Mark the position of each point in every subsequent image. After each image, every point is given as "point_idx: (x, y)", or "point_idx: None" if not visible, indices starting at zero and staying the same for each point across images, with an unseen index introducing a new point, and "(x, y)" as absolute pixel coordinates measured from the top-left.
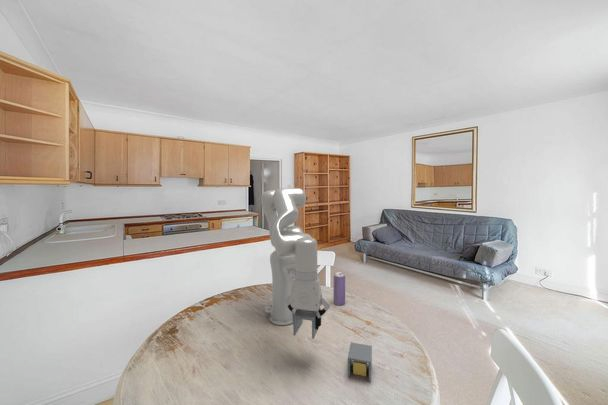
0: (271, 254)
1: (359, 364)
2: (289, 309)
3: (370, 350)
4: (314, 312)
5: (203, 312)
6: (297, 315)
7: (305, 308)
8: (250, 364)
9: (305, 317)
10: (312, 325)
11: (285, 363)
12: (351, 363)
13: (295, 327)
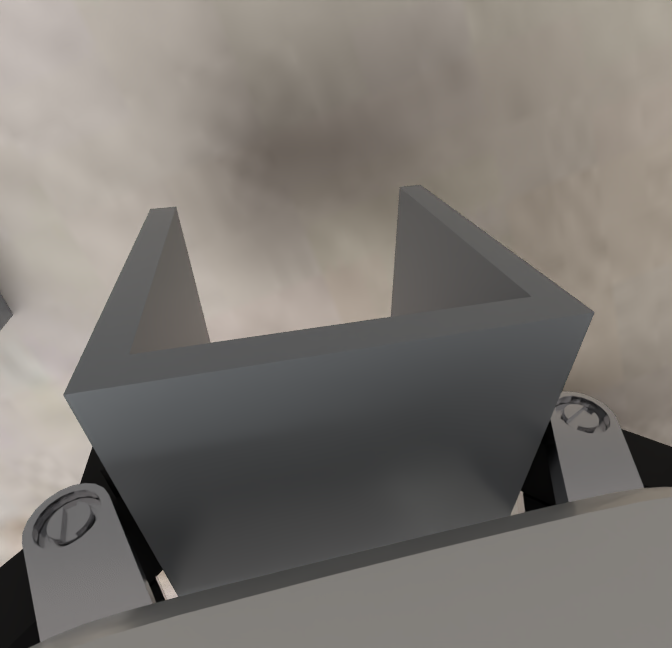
0: None
1: None
2: (663, 445)
3: None
4: (211, 558)
5: None
6: (503, 367)
7: (383, 621)
8: (618, 29)
9: (308, 373)
10: (137, 297)
11: (397, 128)
12: None
13: (435, 239)
